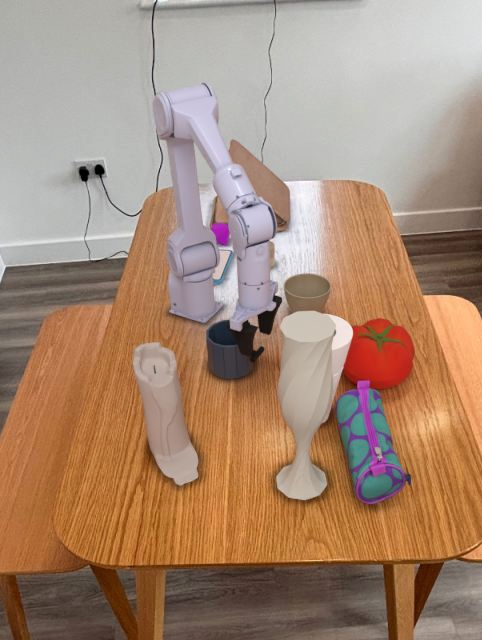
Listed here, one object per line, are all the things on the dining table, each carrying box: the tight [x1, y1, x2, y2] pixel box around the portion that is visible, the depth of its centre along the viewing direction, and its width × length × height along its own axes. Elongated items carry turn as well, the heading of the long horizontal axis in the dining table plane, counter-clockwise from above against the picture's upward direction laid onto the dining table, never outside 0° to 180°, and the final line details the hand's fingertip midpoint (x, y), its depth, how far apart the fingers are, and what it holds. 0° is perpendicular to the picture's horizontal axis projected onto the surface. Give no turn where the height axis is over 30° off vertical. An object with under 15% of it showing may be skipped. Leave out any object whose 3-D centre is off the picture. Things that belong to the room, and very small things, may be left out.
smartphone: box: [213, 248, 234, 285], centre depth 153 cm, size 8×1×15 cm
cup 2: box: [321, 313, 353, 424], centre depth 111 cm, size 11×11×18 cm
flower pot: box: [283, 272, 332, 314], centre depth 137 cm, size 10×10×7 cm
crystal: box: [211, 222, 231, 247], centre depth 160 cm, size 5×5×5 cm
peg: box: [270, 241, 276, 270], centre depth 152 cm, size 4×4×5 cm
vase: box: [275, 311, 336, 501], centre depth 96 cm, size 9×8×30 cm
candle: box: [132, 341, 200, 486], centre depth 104 cm, size 7×14×20 cm, turn 24°
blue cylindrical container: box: [205, 319, 265, 380], centre depth 125 cm, size 11×9×8 cm
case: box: [209, 139, 291, 232], centre depth 165 cm, size 20×21×16 cm
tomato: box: [342, 317, 416, 390], centre depth 122 cm, size 14×16×10 cm
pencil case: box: [334, 381, 412, 505], centre depth 106 cm, size 21×9×10 cm, turn 5°
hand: (255, 343), depth 121 cm, fingers open, 7 cm apart
